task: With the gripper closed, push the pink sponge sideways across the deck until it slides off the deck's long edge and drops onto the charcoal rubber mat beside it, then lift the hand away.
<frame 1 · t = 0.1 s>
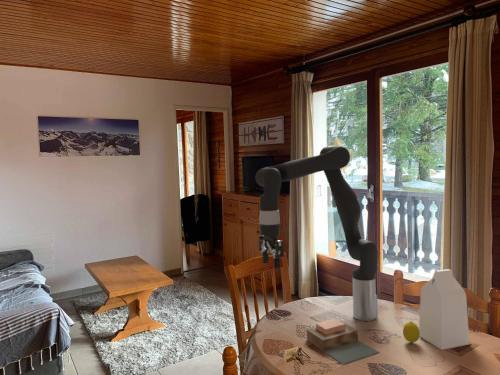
hand: (271, 265, 141), 29 cm above the table, fingers open, 8 cm apart
pink sponge: (330, 328, 143), point 4 cm above the table, touching deck
lemon: (411, 343, 138), on the table
deck: (332, 340, 142), on the table
milk: (443, 340, 140), on the table
mat: (351, 352, 133), on the table
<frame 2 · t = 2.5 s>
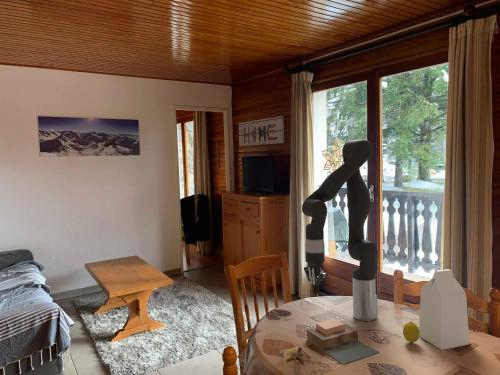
hand: (315, 293, 150), 15 cm above the table, fingers closed
nothing on the table moved.
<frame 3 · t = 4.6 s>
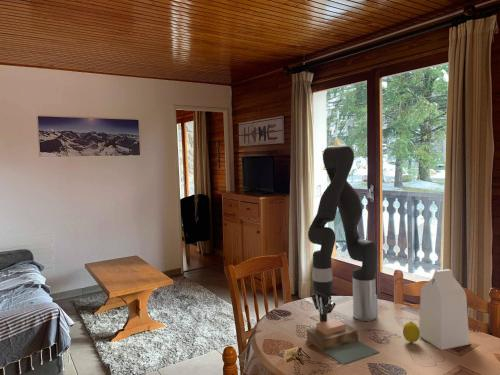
hand: (323, 322, 147), 5 cm above the table, fingers closed
pink sponge: (330, 329, 143), point 4 cm above the table, touching gripper
everything else where it was.
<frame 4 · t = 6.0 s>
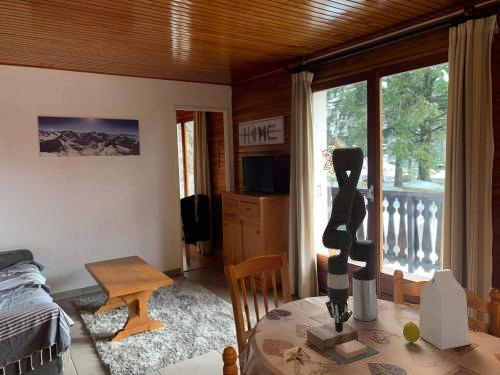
hand: (339, 331, 138), 5 cm above the table, fingers closed
pink sponge: (351, 346, 133), point 2 cm above the table, tilted 180°, touching mat
everything else where it was.
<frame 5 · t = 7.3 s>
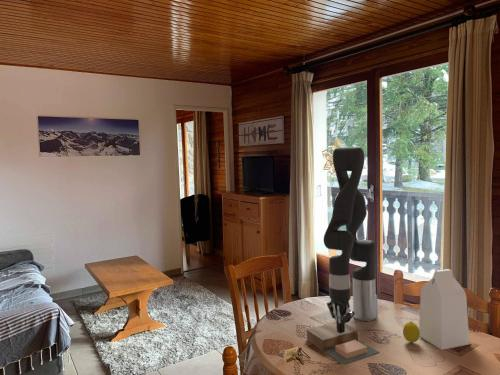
hand: (340, 332, 138), 5 cm above the table, fingers closed
nothing on the table moved.
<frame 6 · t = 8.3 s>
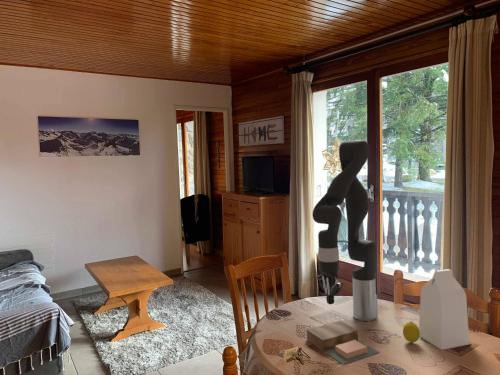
hand: (330, 303, 143), 14 cm above the table, fingers closed
nothing on the table moved.
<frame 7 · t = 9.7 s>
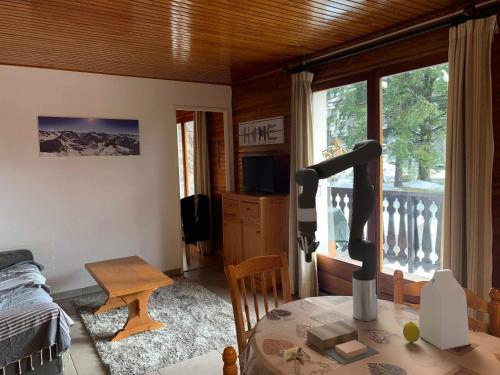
hand: (308, 262, 152), 27 cm above the table, fingers closed
nothing on the table moved.
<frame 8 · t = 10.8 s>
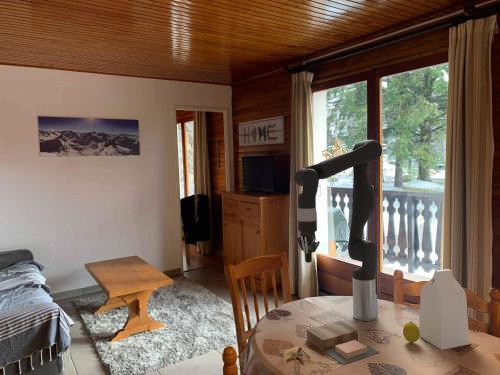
hand: (308, 262, 152), 27 cm above the table, fingers closed
nothing on the table moved.
at the end: pink sponge point 2.3 cm above the table; pink sponge inside the target area on the mat (0.4 cm from its centre), point 2.3 cm above the mat's base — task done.
